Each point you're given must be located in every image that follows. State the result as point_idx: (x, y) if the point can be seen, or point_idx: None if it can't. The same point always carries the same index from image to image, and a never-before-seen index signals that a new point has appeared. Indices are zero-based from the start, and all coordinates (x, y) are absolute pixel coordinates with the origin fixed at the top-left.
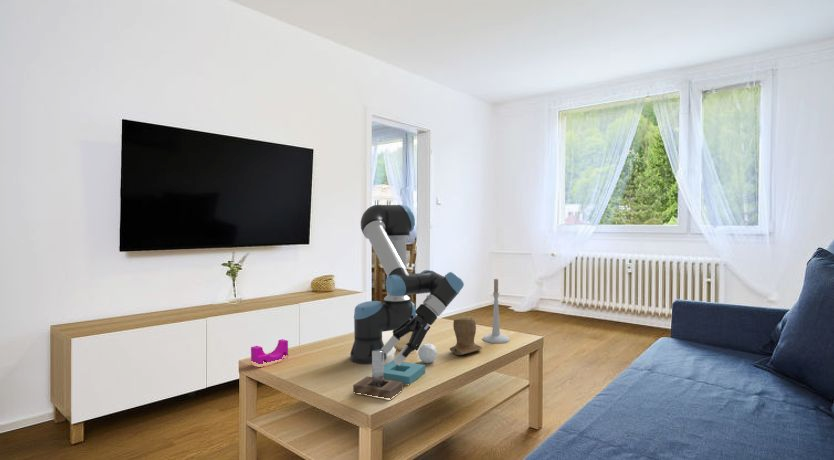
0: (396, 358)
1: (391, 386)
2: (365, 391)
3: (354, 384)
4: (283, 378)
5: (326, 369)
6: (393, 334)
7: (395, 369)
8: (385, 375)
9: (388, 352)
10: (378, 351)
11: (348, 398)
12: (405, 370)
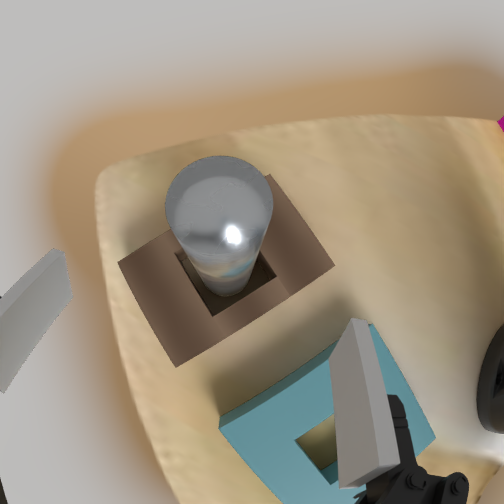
0: (38, 265)
1: (156, 294)
2: None
3: (271, 178)
4: (447, 116)
5: (484, 223)
6: (411, 472)
7: None
8: (325, 357)
9: (330, 375)
10: (208, 200)
11: None
12: None
